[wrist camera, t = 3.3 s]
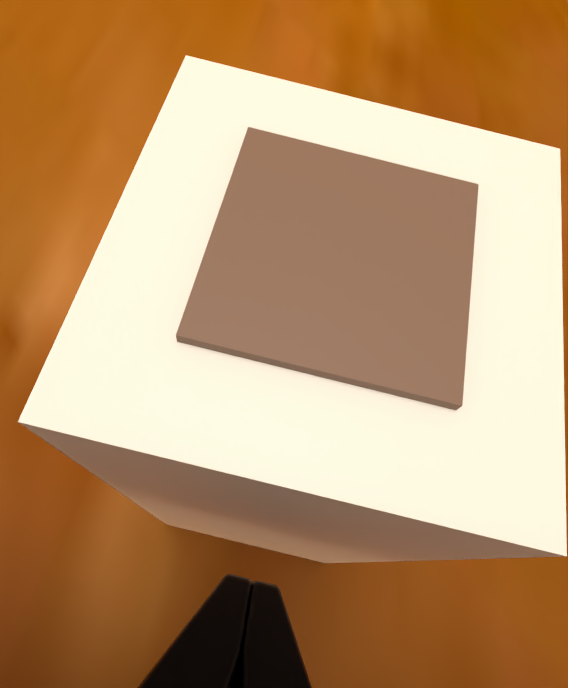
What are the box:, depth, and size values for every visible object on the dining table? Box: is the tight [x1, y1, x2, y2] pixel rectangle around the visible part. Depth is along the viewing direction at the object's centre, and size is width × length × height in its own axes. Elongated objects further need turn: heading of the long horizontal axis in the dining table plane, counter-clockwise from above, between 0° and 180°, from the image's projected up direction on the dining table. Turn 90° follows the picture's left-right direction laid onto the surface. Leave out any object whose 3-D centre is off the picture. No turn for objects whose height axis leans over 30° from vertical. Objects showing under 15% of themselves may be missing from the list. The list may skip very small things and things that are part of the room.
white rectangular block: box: [18, 56, 567, 563], centre depth 11 cm, size 5×5×12 cm
